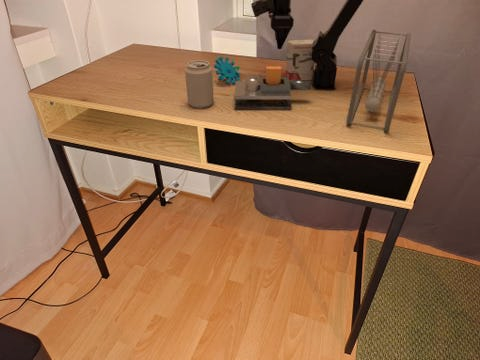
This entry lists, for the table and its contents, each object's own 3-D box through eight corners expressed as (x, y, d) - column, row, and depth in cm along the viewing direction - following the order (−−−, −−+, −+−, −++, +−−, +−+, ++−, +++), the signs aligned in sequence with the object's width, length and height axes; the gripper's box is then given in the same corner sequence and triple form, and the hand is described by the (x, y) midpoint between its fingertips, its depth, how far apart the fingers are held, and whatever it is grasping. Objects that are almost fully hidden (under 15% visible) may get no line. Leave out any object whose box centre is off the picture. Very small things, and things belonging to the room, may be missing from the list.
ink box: (288, 81, 117) (290, 43, 110) (284, 77, 121) (286, 40, 114) (314, 80, 118) (317, 42, 111) (309, 75, 122) (312, 39, 115)
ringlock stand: (305, 93, 110) (308, 70, 106) (311, 110, 100) (314, 86, 96) (236, 92, 110) (235, 70, 106) (234, 109, 101) (234, 86, 97)
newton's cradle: (361, 86, 115) (373, 27, 104) (395, 90, 111) (411, 31, 101) (345, 127, 92) (358, 58, 82) (387, 135, 89) (407, 64, 79)
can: (203, 111, 100) (200, 69, 93) (182, 105, 103) (178, 64, 96) (218, 102, 105) (217, 61, 98) (198, 96, 108) (195, 56, 101)
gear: (225, 84, 111) (211, 56, 112) (215, 94, 116) (201, 67, 116) (248, 79, 119) (235, 53, 119) (238, 88, 123) (225, 63, 123)
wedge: (278, 96, 106) (280, 66, 100) (279, 99, 104) (281, 68, 99) (265, 96, 106) (266, 66, 100) (265, 99, 104) (266, 68, 99)
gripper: (252, -18, 108) (252, 36, 118) (253, -7, 93) (252, 54, 103) (289, -18, 108) (285, 36, 118) (296, -7, 93) (291, 54, 103)
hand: (278, 44), depth 110 cm, fingers open, 9 cm apart
